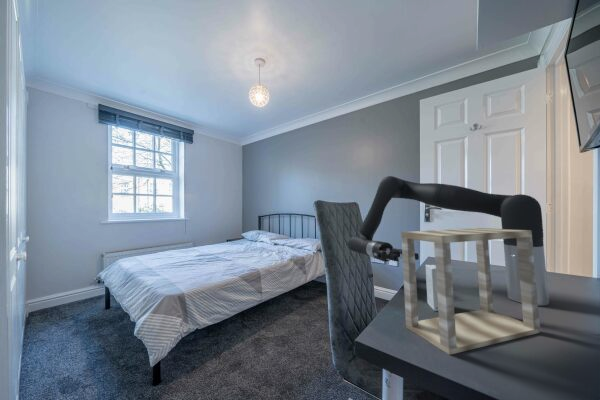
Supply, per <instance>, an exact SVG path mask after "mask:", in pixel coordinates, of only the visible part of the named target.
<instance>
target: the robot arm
mask: <svg viewBox="0 0 600 400" xmlns="http://www.w3.org/2000/svg"><path fill="white" fill-rule="evenodd" d="M392 199H403V200H404V199H406V200H413V201H417V202H420V203H423V204H426V205H429V206H432V207H437V208H440V209H445V210H452V211H460V212H469V213H479V214H480V213H481V214H486V215H489V216H494V217H496V218H497V217H498V218H500V219H501V229H512V230H531V231H532V242H533V254H534V266H535V277H536V289H537V301H538V307H540V306H548V305H550V293H549V280H548V271H547V270H546V269H547V268H546V267H547V266H546V256H545V247H544V246H545V244H544V228H543V227H544V226H543V215H542V206H541V204H540V202H539V201H538V200H537V199H536V198H535V197H532V196H531V195H528V194H527V195H526V194H521V193H520V194H513V195H511V194H509V195H507V194H498V193H497V194H496V193H488V192H484V191H480V190H475V189H472V188H468V187H464V186H458V185H453V184H446V183H423V182H422V183H421V182H414V181H409V180H406V179H405V180H404V179H402V178H399V177H396V176H392V175H391V176H389V175H388V176H385V177H384V178H382V179H381V181H380V183H379V185H378V187H377V190H376V194H375V196H374V199H373V201H372V203H371V206H370V208H369V211H368V212H367V215H366V216H365V218H364V220H363V222H362V223H361V225H360V227H359V229H358V232H359V234H361V235H362V236H364V237H363V238H362V237H359V236H355V235H354V236H351V237H350V238H349V239H348V240H349V241H347V247H348V246H349V247H348V249H349V250H350V251H352V252H355V253H358V254H361V255H366V256H367V257H371V258H372V259H374V260H378V261H382V262H390V261H393V262H399V259H400V260H401V259H402V260H403V257H402V248H397V247H394V246H393V244H391V243H390V242H386V241H385V242H384V241H380V240H373V238H374V235H375V234H376V231H377V230H378V228H379V226H380V224H381V223H382V219H383V215H384V213H385V209H386V207H387V205H388V204H389V203H390V201H391V200H392ZM502 240H503V250H504V251H503V252H504V264H505V266H504V267H505V275H506V277H505V278H506V288H507V289H506V291H507V298H508V299H510V300H512V301H513V302H516V303H521V304H522V300H521V288H520V276H519V264H518V251H517V239H516V238H508V239H502ZM419 257H420V256H419V253H417V252H415V261H416V260H417V261H418V260H420V258H419Z"/></svg>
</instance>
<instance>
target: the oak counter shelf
mask: <svg viewBox="0 0 600 400" xmlns="http://www.w3.org/2000/svg"><path fill="white" fill-rule="evenodd" d="M400 234H401V235H400V236H401V249H402V255H401V257H403V259H402V274H403V292H404V294H403V295H404V311H405V312H404V313H405V328H406V329H408V330H410V332H412V333H414V334H416V335H417V336H419V337H420V338H422V339H424V340H425V341H427V342H429V343H430V344H432V345H433V346H435V347H436V348H438V349H439V350H441V351H443V352H444V353H446V354H447V355H449V356H450V355H456V354H458V353H462V352H466V351H472V350H474V349H475V350H476V349H479V348H483V347H487V346H492V345H495V344H499V343H504V342H507V341H511V340H515V339H518V338H524V337H528V336H531V335H532V336H533V335H536V334H540V333H541V326H540V325H541V324H540V313H539V305H538V301H537V289H536V277H535V266H534V254H533V242H532V231H531V230H512V229H502V228H490V227H488V228H487V227H475V228H471V227H470V228H456V229H451V228H450V229H439V230H438V229H436V230H434V229H433V230H418V231H416V230H415V231H401V233H400ZM508 238H516V239H517V251H518V264H519V276H520V288H521V300H522V303H521V310H522V311H521V313H522V320H523V321H521V320H519V319H516V318H513V317H510V316H507V315H505V314H502V313H499V312H497V311H495V310H494V301H493V300H494V299H493V288H492V285H493V284H492V272H491V262H490V260H491V259H490V246H489V241H491V240H503V239H508ZM415 241H421V242H430V243H431V242H432V243H434V257H435V258H434V260H435V262H434V263H435V265H436V280H437V296H438V311H437V312H438V317H433V318H432V317H431V318H427V319H421V320H419V308H418V307H419V306H418V290H417V289H418V288H417V271H416V270H417V269H416V260H415V253H416V252H415ZM463 242H475V249H476V250H475V251H476V265H477V277H478V278H477V279H478V291H479V293H478V294H479V306H480V309H476V310H471V311H465V312H460V313H455V302H454V285H453V269H452V254H451V243H463Z"/></svg>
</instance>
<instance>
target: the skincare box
mask: <svg viewBox="0 0 600 400" xmlns="http://www.w3.org/2000/svg"><path fill="white" fill-rule="evenodd" d="M425 280H426V282H425V283H426V302H427V304H428V306H429V307H430V308H431V309H432V310H433V311H434V312H438V296H437V280H436V264H425Z"/></svg>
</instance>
